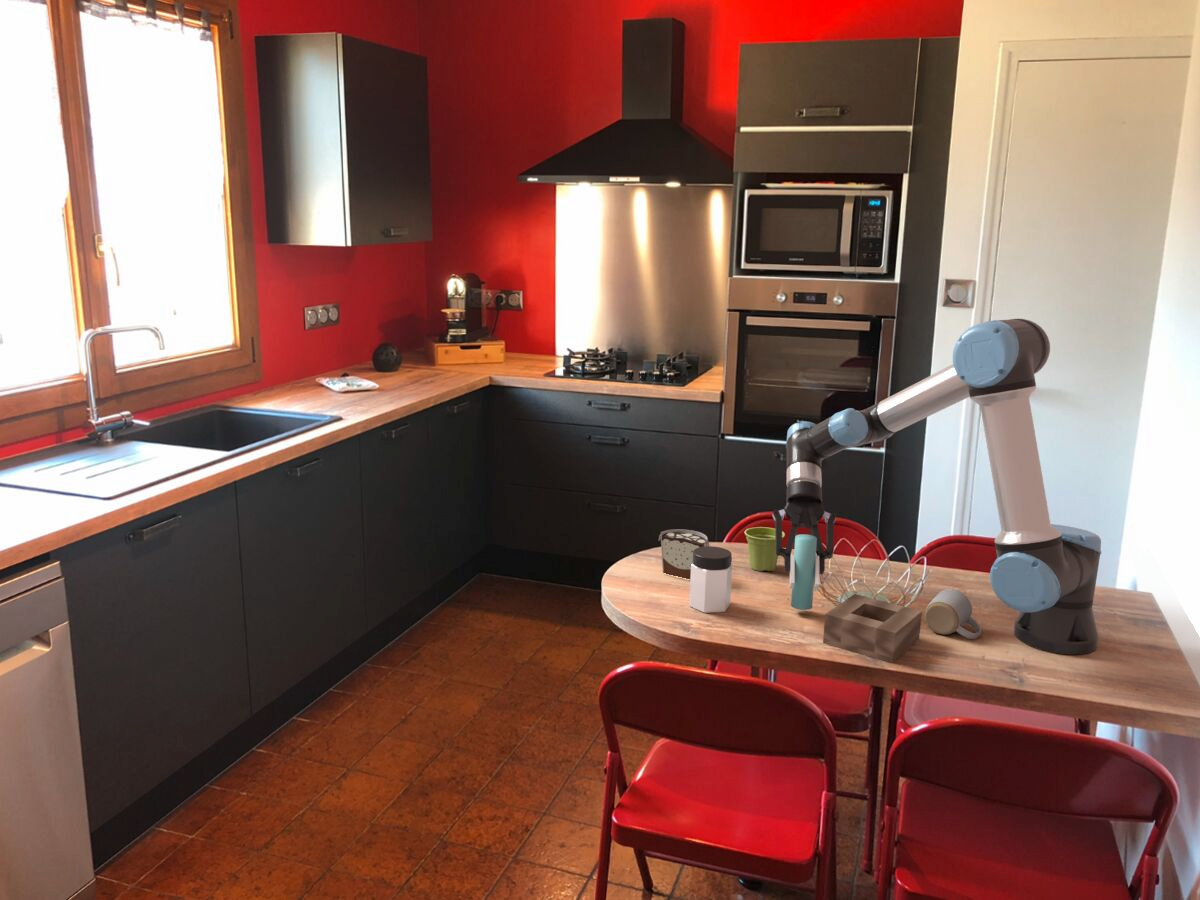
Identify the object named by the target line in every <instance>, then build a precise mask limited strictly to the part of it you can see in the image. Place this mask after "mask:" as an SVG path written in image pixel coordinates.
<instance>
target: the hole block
mask: <svg viewBox="0 0 1200 900" xmlns="http://www.w3.org/2000/svg"><path fill="white" fill-rule="evenodd" d="M922 615H923V611H922V610H919V609H915V608H911V607H907V606H904V605H899V604H895V603H892V602H888V601H883V600H880V599H876V598H872V597H867V596H864V595H860V594H857V593H854V594H853V595H850V597H847V598H846V599H845V600H843V601H842V602H841V603H839V604H838V605H836V606H835V607H833V608H832V609H831V610H829V611H827V612H826V613H825V614H824V626H823V636H822V637H823V638H822V639H823V640H822V644H826V645H829V646H833V647H835V648H840V649H842V650H843V649H844V650H846V651H847V650H848V651H850V652H853V653H857V654H860V655H864V656H867V657H871V658H874V659H877V660H881V661H885V662H887V663H891V664H893V663H894V662H895V661H896V660H898V659H899V658H900V657H901V656H902V655H904V653H906V652H907V651H908V650H907V649H910V648H911V647H912V646H914V645H915V644H916V643H917V642H918V641H919V640H920V634H921V624H922V623H921V622H922ZM917 640H918V641H917ZM916 641H917V642H916ZM915 642H916V643H915ZM906 650H907V651H906Z"/></svg>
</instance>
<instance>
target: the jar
mask: <svg viewBox="0 0 1200 900" xmlns="http://www.w3.org/2000/svg"><path fill="white" fill-rule="evenodd" d="M732 556H733V554H732V552H731V551H730V550H728V549H727V548H724V547H719V546H710V545H709V546H706V547H699V548H696V549H695V550H694V551H693V564H692V565H691V577H690V581H689V582H690V583H689V599H688V601H689V603H688V607H690V608H692V607H693V609H695V610H698V611H699V612H702V613H703V614H704V613H706V614H708V613H710V614H711V613H712V614H713V613H725V612H726V610H727V609H728V608H729V606H730V605H731V593H732V575H733V574H732V573H733V563H732V561H733V558H732Z"/></svg>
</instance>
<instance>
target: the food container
mask: <svg viewBox="0 0 1200 900" xmlns="http://www.w3.org/2000/svg"><path fill="white" fill-rule="evenodd" d="M658 541H660V545H661V546H660V547H661V548H660V549H661V564H662V565H661V567H662V574H663V573H666V574H669V575H673V576H678V577H682V578H686V579H690V577H691V565H692V564H693V551H694V550H695V549H696V548H699V547H706V546H710V542H709V539H708V536H707V535H706V534H704V533H703V532H700V531H696V530H692V529H691V530H690V529H682V528H681V529H667V530H664V531H661V532H660V534H659V536H658Z"/></svg>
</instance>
